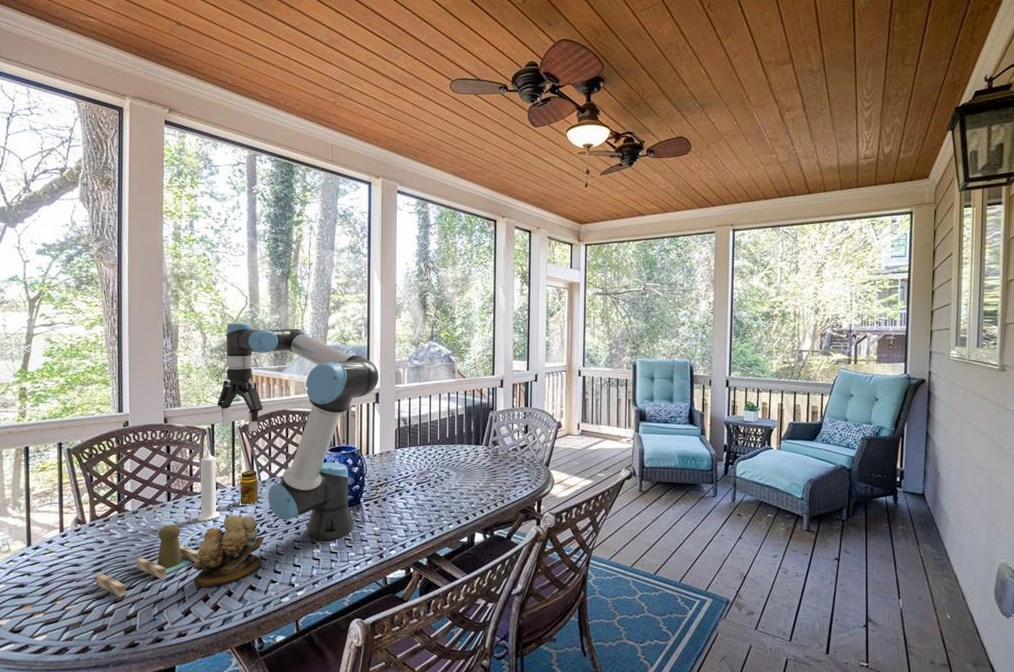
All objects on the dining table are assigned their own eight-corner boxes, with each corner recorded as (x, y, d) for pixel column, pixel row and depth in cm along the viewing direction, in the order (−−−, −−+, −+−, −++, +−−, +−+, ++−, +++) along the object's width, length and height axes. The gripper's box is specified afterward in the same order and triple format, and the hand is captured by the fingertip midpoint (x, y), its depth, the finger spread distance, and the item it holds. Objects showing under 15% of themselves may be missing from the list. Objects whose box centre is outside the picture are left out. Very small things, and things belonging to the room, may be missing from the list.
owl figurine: (253, 554, 146) (254, 500, 146) (271, 567, 139) (272, 510, 138) (186, 578, 132) (187, 518, 131) (203, 594, 125) (203, 531, 124)
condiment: (238, 506, 183) (238, 475, 182) (240, 498, 191) (240, 469, 190) (259, 503, 186) (259, 473, 185) (261, 496, 193) (261, 467, 193)
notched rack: (231, 547, 150) (231, 539, 150) (120, 596, 123) (120, 587, 123) (208, 539, 156) (208, 531, 156) (96, 584, 128) (96, 575, 128)
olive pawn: (155, 570, 135) (154, 532, 135) (159, 560, 141) (159, 524, 140) (180, 566, 138) (180, 529, 138) (183, 556, 144) (183, 521, 143)
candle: (192, 518, 171) (192, 450, 170) (212, 511, 177) (212, 446, 176) (204, 522, 168) (203, 453, 167) (224, 515, 174) (223, 448, 173)
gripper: (273, 368, 161) (274, 430, 162) (226, 365, 172) (226, 422, 173) (253, 370, 155) (254, 435, 155) (205, 366, 165) (206, 426, 166)
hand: (239, 428), depth 164 cm, fingers open, 13 cm apart
